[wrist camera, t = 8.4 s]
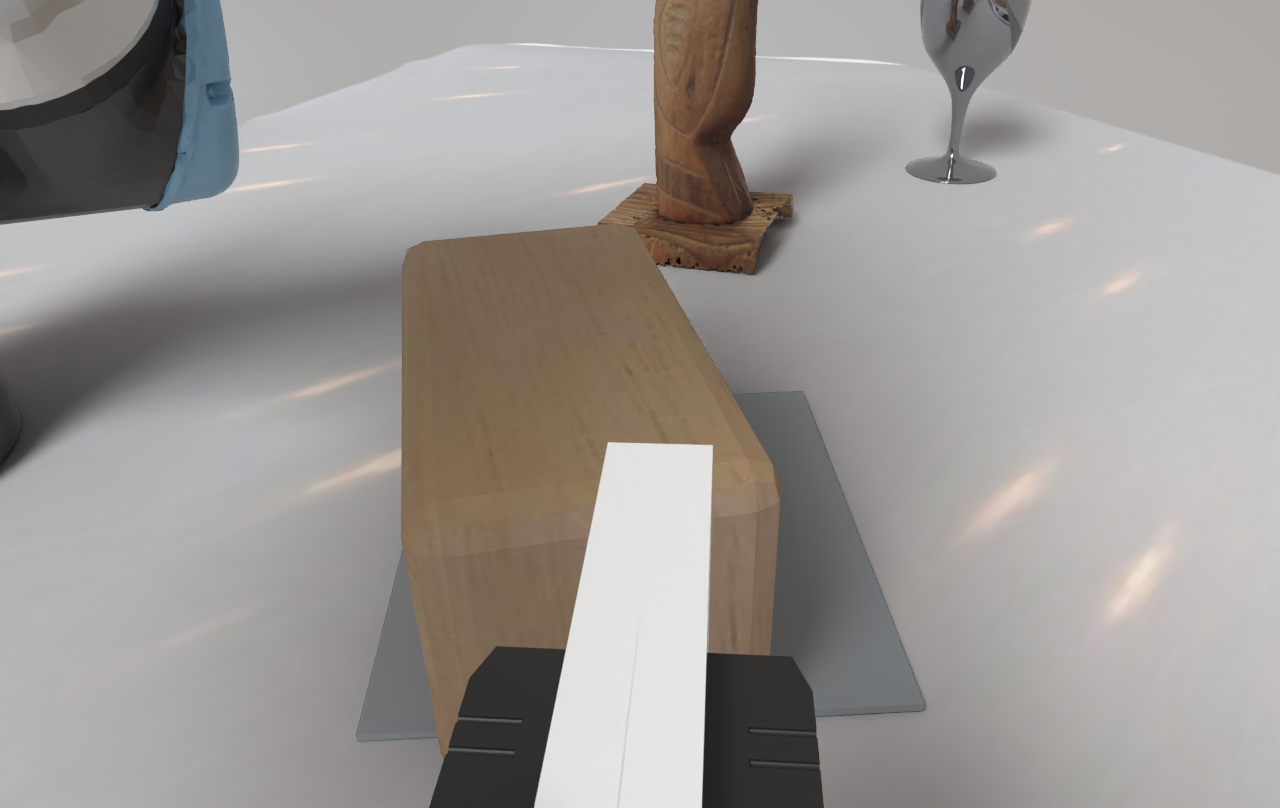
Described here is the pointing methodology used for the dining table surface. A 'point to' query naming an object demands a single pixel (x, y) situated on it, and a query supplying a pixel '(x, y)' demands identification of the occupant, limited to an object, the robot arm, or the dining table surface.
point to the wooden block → (555, 441)
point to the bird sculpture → (702, 141)
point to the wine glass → (966, 69)
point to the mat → (803, 600)
